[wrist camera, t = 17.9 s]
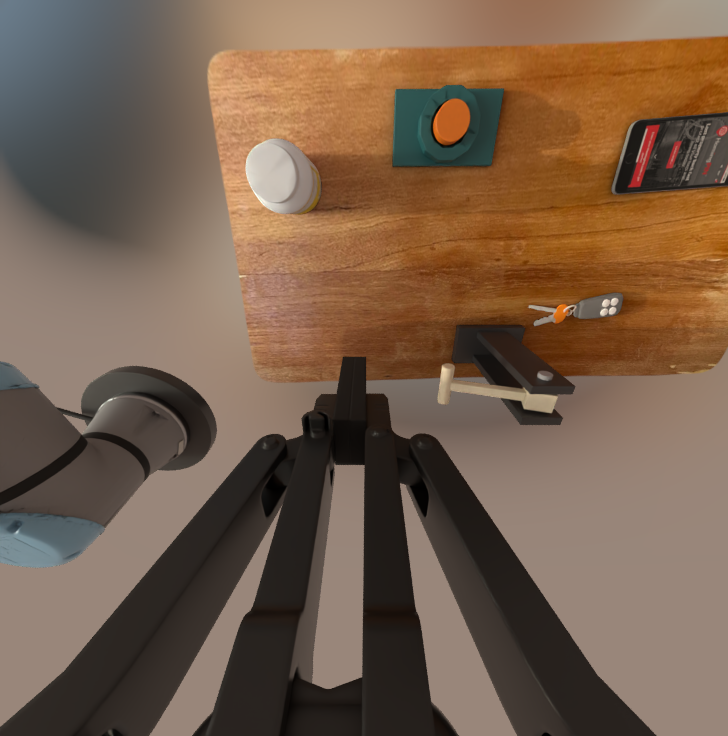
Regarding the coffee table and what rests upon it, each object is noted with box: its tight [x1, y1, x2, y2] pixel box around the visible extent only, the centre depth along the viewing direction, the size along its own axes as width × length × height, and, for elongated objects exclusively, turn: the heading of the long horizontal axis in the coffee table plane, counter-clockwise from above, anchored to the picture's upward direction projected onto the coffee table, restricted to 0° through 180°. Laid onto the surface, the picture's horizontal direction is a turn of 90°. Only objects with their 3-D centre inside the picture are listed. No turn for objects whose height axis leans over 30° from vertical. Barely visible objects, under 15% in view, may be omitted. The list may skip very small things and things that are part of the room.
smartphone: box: [612, 112, 728, 194], centre depth 34 cm, size 7×1×15 cm
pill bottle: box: [246, 139, 322, 214], centre depth 31 cm, size 6×6×12 cm
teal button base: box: [392, 85, 504, 167], centre depth 33 cm, size 12×7×2 cm, turn 90°
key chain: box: [529, 293, 623, 326], centre depth 43 cm, size 13×4×2 cm, turn 100°
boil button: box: [433, 98, 470, 145], centre depth 31 cm, size 4×4×2 cm
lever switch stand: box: [452, 325, 575, 425], centre depth 38 cm, size 10×6×18 cm, turn 90°
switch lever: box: [437, 363, 558, 413], centre depth 33 cm, size 12×5×2 cm, turn 90°
